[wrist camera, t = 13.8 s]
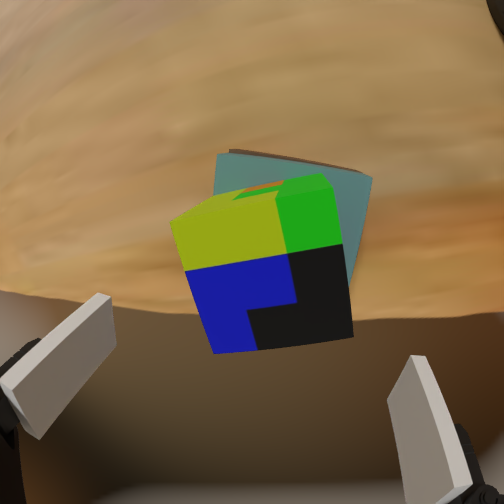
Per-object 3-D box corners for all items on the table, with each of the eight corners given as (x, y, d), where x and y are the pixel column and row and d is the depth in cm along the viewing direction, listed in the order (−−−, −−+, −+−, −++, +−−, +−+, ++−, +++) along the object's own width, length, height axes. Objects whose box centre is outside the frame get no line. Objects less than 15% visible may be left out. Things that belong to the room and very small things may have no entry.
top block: (228, 152, 31) (217, 154, 27) (362, 173, 29) (372, 177, 25) (217, 275, 36) (206, 293, 31) (336, 295, 34) (340, 315, 30)
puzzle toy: (239, 293, 31) (213, 354, 22) (213, 195, 28) (169, 222, 19) (339, 277, 29) (353, 337, 19) (321, 172, 26) (332, 187, 16)
